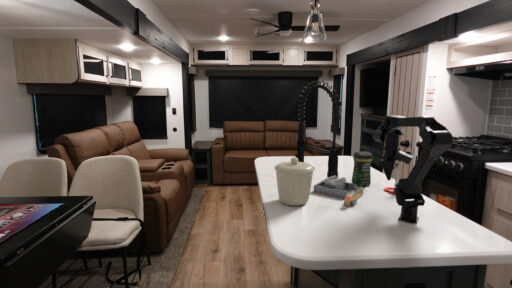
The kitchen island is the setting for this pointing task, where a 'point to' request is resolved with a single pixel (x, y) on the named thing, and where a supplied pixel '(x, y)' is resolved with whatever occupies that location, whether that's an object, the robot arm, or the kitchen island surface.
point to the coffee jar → (362, 168)
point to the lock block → (335, 183)
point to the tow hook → (395, 185)
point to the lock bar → (353, 197)
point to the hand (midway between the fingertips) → (388, 180)
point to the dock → (335, 191)
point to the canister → (294, 181)
